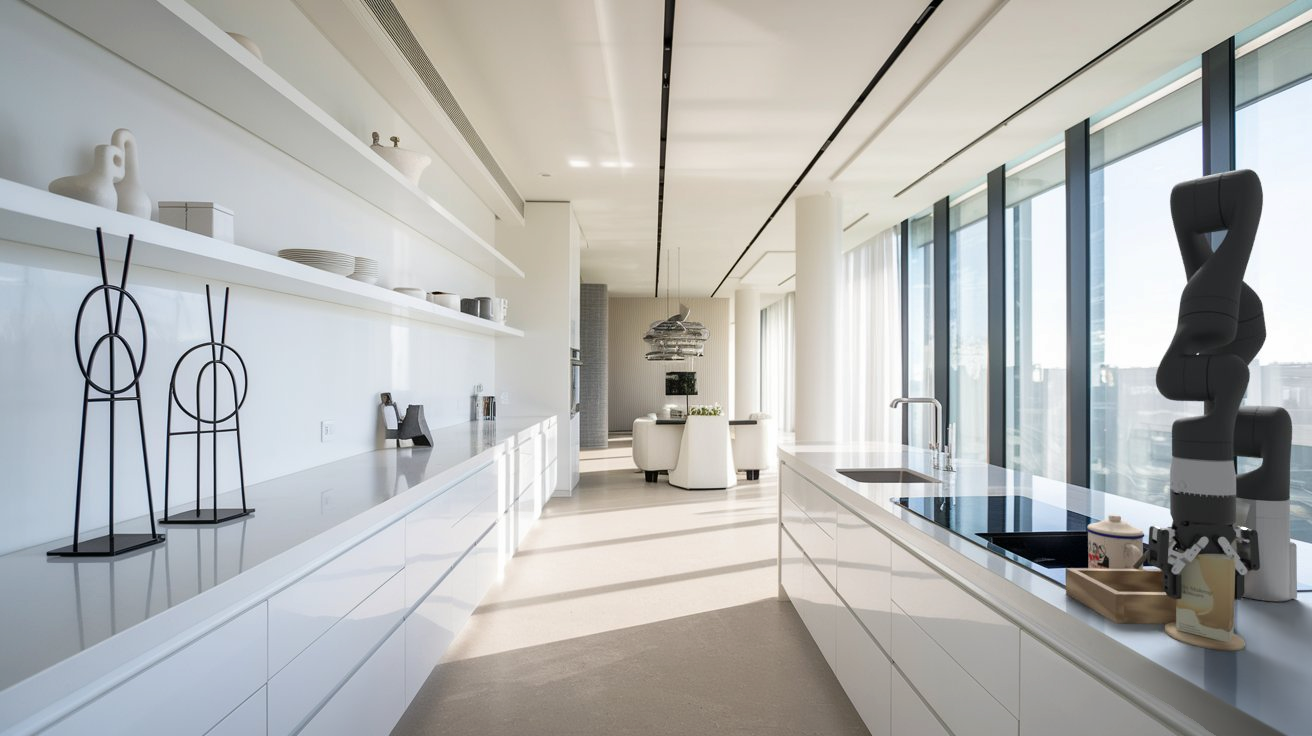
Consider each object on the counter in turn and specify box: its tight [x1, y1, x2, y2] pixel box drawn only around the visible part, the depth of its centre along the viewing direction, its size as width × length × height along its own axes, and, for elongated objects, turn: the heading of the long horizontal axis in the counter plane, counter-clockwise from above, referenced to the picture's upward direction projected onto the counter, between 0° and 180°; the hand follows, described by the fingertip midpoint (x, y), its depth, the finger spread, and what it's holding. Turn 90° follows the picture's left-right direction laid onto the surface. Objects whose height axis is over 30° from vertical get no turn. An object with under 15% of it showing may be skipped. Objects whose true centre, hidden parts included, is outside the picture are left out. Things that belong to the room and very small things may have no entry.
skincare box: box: [1176, 549, 1235, 643], centre depth 96 cm, size 6×4×12 cm
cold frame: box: [1065, 501, 1250, 625], centre depth 109 cm, size 21×14×19 cm
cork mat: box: [1164, 622, 1245, 652], centre depth 96 cm, size 9×9×1 cm
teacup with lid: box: [1086, 514, 1145, 569], centre depth 124 cm, size 12×9×12 cm
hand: (1203, 597), depth 96 cm, fingers open, 8 cm apart
